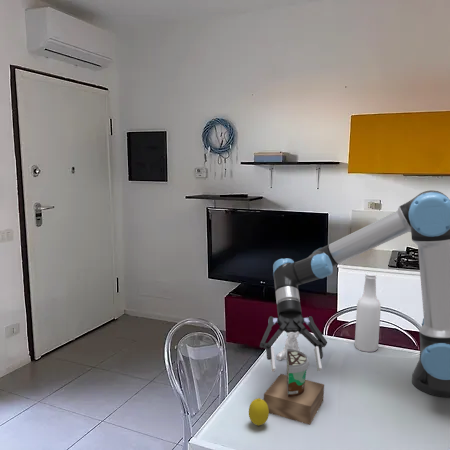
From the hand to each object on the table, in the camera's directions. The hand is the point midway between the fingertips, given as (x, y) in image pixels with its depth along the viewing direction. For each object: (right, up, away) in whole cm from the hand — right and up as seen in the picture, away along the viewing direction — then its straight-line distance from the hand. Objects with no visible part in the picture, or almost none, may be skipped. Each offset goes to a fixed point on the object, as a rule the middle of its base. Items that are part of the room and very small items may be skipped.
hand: (296, 369), depth 133 cm
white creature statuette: (+3, -7, +36) cm, 37 cm away
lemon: (-12, -13, -7) cm, 19 cm away
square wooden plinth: (0, -12, +3) cm, 13 cm away
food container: (+1, -7, +2) cm, 7 cm away
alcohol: (+34, -6, +46) cm, 57 cm away
